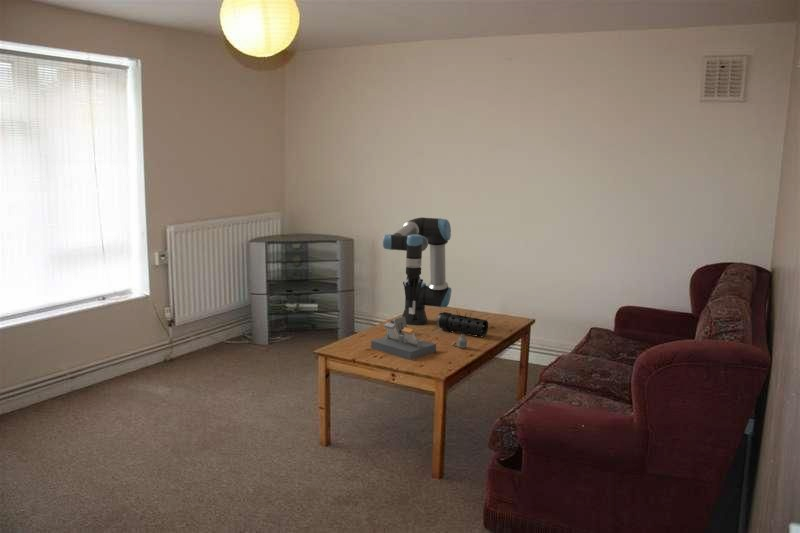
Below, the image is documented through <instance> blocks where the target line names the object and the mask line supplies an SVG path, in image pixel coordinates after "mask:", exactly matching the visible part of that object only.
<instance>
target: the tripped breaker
mask: <svg viewBox="0 0 800 533" xmlns="http://www.w3.org/2000/svg"><path fill="white" fill-rule="evenodd" d="M402 332H403V333H404V334H403V335H404V336H405V337H406V340H407V343H410V344H414V345H418V341H417V339H418V338H417V336H416V334H415V330H414V329H413V328H409V327H407V328H406V327H404V329H403V330H402Z"/></svg>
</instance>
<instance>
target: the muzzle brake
mask: <svg viewBox="0 0 800 533" xmlns="http://www.w3.org/2000/svg"><path fill="white" fill-rule="evenodd" d="M458 316H459V314H455V313H454V314H453V313H451V312H446V311H444V312H440V313H439V314H437V317H436V326H437V327H438V328H440V329H442V330H447V331H448V332H450V331H453V332H452V333H455V332H458V333H461V329H460V326H461V327H462V333H461V334H463V330H464V332H465V335H468V334H471V335H470V336H472V335H477V336H476V337H478V336H483V337H482V338H485V336H486V335H487V334H488V331H489V321H488V320H487V319H482V318H477V317H471V316H466V319H465V315H461V314H460V317H459V319H458ZM469 318H470V319H469ZM460 320H461V324H459V321H460ZM468 320H469V322H468ZM464 323H465V327H464ZM467 323H468V325H467ZM466 326H467V328H466ZM465 329H466V331H465Z"/></svg>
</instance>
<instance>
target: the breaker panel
mask: <svg viewBox="0 0 800 533" xmlns="http://www.w3.org/2000/svg"><path fill="white" fill-rule="evenodd" d="M398 335H399V340H396V339H392V338H389V334H388V332H387V331H386V332H385V336H384V337H380V338H376V339H373V340H371V341H370V348H372V350H375V349H376V350H375V351H378V350H379V352H381V351H383V352H382V353H385V352H386V354H388V353H389V355H392V356H395V357H398V358H402V359H406V360H409V361H412V360H416V359H417V358H421V357H424V356H427V355H429V354H433V353H435V352H437V343H434V342H430V341H428V340H427V341H426V340H423V339H419V338H416V339H417V341H418V345H414V344H410V343H407V340H406V337H405V335H404V334H403V335H401V334H398Z"/></svg>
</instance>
